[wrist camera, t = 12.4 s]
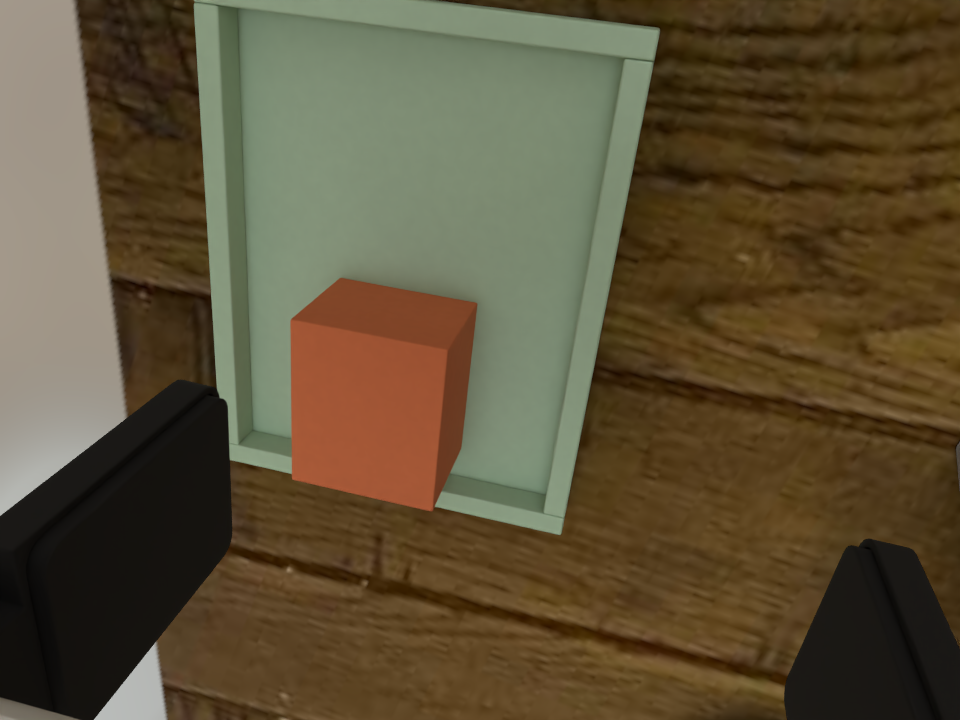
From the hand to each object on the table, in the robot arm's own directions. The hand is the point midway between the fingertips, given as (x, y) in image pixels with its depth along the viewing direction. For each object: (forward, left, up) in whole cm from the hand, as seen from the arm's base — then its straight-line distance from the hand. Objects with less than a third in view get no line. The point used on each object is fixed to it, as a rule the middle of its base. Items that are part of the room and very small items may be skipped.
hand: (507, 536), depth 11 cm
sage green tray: (-4, -5, -15) cm, 16 cm away
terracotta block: (-3, -8, -14) cm, 17 cm away
